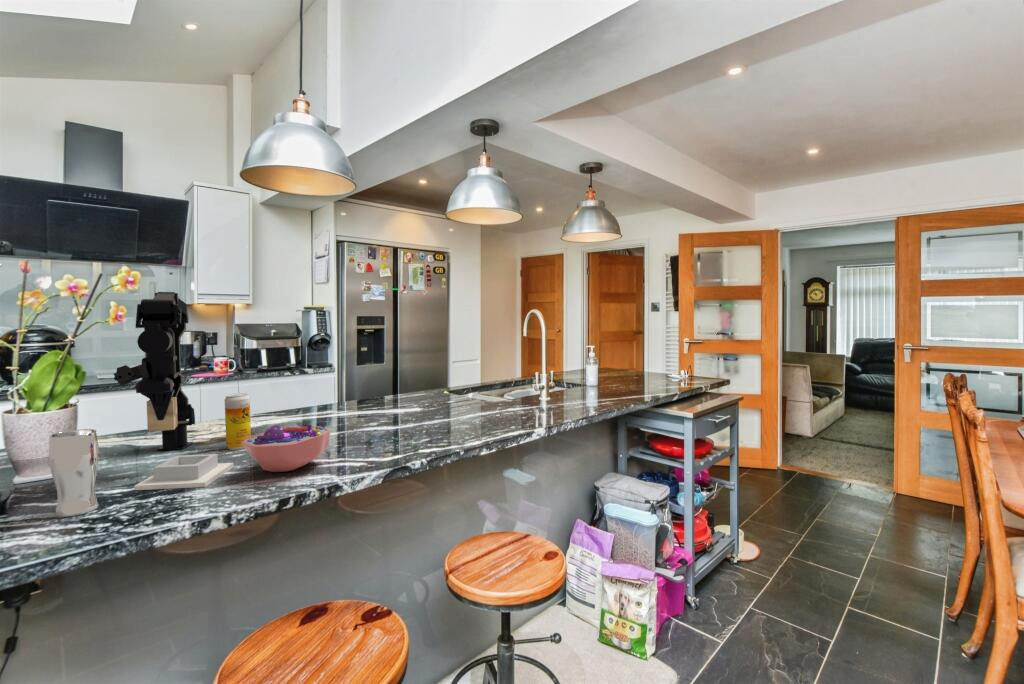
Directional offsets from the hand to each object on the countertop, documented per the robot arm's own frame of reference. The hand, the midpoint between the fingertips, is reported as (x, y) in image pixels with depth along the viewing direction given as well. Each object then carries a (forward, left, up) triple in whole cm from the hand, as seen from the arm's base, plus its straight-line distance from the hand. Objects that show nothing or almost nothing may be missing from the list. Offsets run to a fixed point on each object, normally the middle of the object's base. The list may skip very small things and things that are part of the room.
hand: (163, 418), depth 113 cm
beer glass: (+23, -3, -13) cm, 26 cm away
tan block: (0, 0, -3) cm, 2 cm away
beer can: (-19, +9, -13) cm, 25 cm away
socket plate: (+6, +8, -13) cm, 16 cm away
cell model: (+2, +29, -13) cm, 32 cm away
